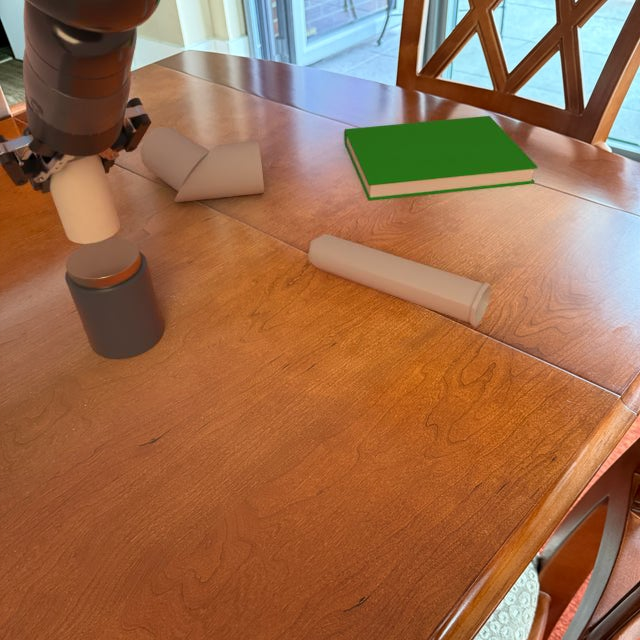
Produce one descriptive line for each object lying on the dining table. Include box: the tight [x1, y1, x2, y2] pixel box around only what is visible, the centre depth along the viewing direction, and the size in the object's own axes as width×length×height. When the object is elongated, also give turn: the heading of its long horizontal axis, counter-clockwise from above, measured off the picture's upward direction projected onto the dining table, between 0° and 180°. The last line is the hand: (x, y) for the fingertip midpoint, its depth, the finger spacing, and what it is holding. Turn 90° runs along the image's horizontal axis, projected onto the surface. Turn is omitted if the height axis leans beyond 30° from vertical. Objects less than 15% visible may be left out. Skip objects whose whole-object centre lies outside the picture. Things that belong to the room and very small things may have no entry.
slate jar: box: [64, 237, 165, 360], centre depth 71 cm, size 9×9×12 cm
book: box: [343, 115, 538, 201], centre depth 106 cm, size 22×28×3 cm
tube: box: [307, 233, 492, 328], centre depth 78 cm, size 5×5×25 cm
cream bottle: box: [49, 154, 121, 245], centre depth 60 cm, size 6×6×12 cm
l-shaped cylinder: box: [140, 126, 265, 203], centre depth 100 cm, size 18×11×20 cm
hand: (71, 174), depth 62 cm, fingers closed on cream bottle, 5 cm apart
